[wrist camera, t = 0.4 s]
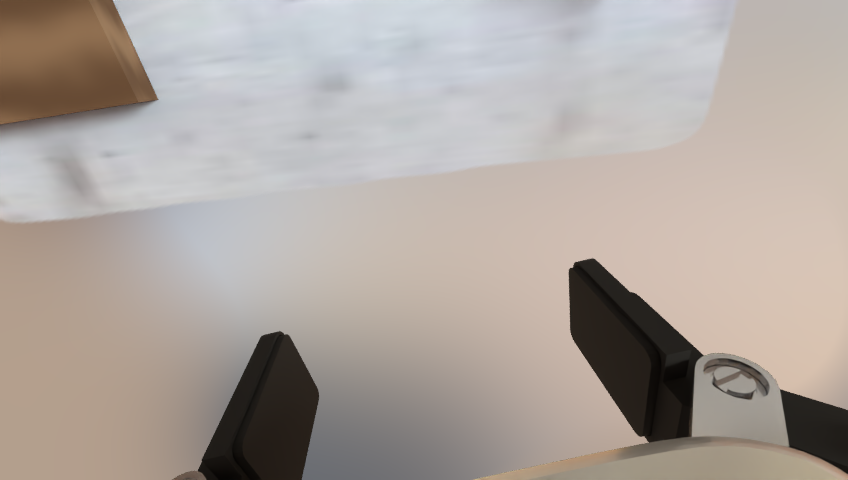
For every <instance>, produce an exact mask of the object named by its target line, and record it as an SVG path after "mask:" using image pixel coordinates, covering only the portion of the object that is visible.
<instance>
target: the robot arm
mask: <svg viewBox="0 0 848 480" xmlns="http://www.w3.org/2000/svg"><path fill="white" fill-rule="evenodd" d="M569 296H570V330H571V335H572V337H573V340H574V342H575V343H576V345H577V346H578V348H579V349H580V351H581V352H582V354H583V355H584V357H585V358H586V360H587V361H588V363H589V364H590V366H591V367H592V369H593V370H594V372H595V373H596V374H597V376H598V378H599V379H600V381H601V382H602V384H603V385H604V386H605V388H606V390H607V391H608V393H609V394H610V396H611V397H612V399H613V400H614V401H615V403H616V404H617V406H618V407H619V409H620V410H621V412H622V413H623V415H624V416H625V418H626V419H627V421H628V422H629V424H630V425H631V427H632V428H633V430H634V431H635V432H636V434H637V435H638V436H640V437H642V436H645V438H646V439H647V441H648V442H649V443H645V444H640V445H634V446H630V447H624V448H619V449H614V450H609V451H604V452H599V453H594V454H589V455H584V456H580V457H575V458H571V459H566V460H561V461H556V462H552V463H548V464H543V465H538V466H533V467H529V468H524V469H519V470H515V471H510V472H505V473H501V474H497V475H492V476H487V477H483V478H479V479H474V480H848V410H846V409H842V408H839V407H836V406H833V405H829V404H826V403H823V402H819V401H816V400H812V399H810V398H806V397H803V396H800V395H797V394H793V393H790V392H787V391H784V390H780V388H779V386H778V384H777V381H776V380H775V379H774V378H773V377H772V375H771V374H769V372H768V371H766V370H765V369H763V368H762V367H761V366H759V365H758V364H756V363H754V362H752V361H750V360H747V359H745V358H742V357H739V356H735V355H731V354H724V353H713V354H708V355H705V356H704V355H702V354H701V353H700V352H699V351H698V350H697V349H696V348H695V347H694V346H693V345H692V344H690V343H689V342H688V341H687V340H686V339H685V338H684V337H683V336H682V335H681V334H679V332H678V331H676V330H675V329H674V328H673V327H672V326H671V325H670V324H669V323H668V322H667V321H666V320H665V319H663V318H662V317H661V316H660V315H659V314H658V313H657V312H656V311H655V310H654V309H653V308H652V307H650V306H649V305H648V304H647V303H646V302H645V301H644V300H643V299H642V298H641V297H640V296H638V295H637V294H635V293H632V292H629V291H628V290H627V289H626V288H625V287H624V286H623V285H622V284H621V283H620V282H619V281H618V280H617V279H616V278H614V277H613V276H612V275H611V274H610V273H609V272H608V271H607V270H606V269H605V268H604V267H603V266H602V265H601V264H600V263H599V262H597V261H596V260H595V259H588V260H583V261H579V262H575V263H574V265H573V268H570V269H569ZM318 400H319V392H318V389H317V386H316V385H315V383H314V381H313V379H312V377H311V375H310V373H309V371H308V370H307V368H306V366H305V364H304V362H303V360H302V358H301V356H300V355H299V353H298V351H297V349H296V347H295V346H294V343H293V341H292V340H291V338H290V336H289V335H284V333H282V332H280V331H279V332H275V333H270V334H266V335H263V336H261V338H260V340H259V342H258V344H257V346H256V348H255V350H254V352H253V354H252V356H251V358H250V361H249V363H248V365H247V367H246V369H245V371H244V373H243V375H242V377H241V379H240V382H239V383H238V385H237V388H236V390H235V392H234V394H233V396H232V398H231V400H230V402H229V404H228V406H227V408H226V410H225V413H224V415H223V417H222V419H221V421H220V423H219V425H218V427H217V429H216V431H215V433H214V435H213V438H212V440H211V442H210V444H209V446H208V448H207V450H206V452H205V454H204V456H203V459H202V463H201V465H200V467H199V469H198V471H190V472H186V473H184V474H181V475H179V476H177V477H176V478H174V479H173V480H302V474H303V470H304V466H305V461H306V456H307V452H308V447H309V442H310V437H311V433H312V428H313V424H314V419H315V415H316V410H317V405H318Z"/></svg>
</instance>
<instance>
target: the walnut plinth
mask: <svg viewBox="0 0 848 480" xmlns="http://www.w3.org/2000/svg"><path fill="white" fill-rule="evenodd" d="M152 100H158V98H157V96H156V94H155V92H154V89H153V87H152V85H151V83H150V81H149V79H148V76H147V74H146V72H145V70H144V68H143V66H142V63H141V61H140V59H139V57H138V55H137V53H136V50H135V48H134V46H133V44H132V42H131V39H130V37H129V35H128V33H127V31H126V29H125V26H124V24H123V22H122V20H121V18H120V16H119V13H118V11H117V9H116V7H115V5H114V3H113V0H0V124H7V123H13V122H19V121H26V120H32V119H38V118H45V117H51V116H57V115H64V114H70V113H76V112H83V111H89V110H95V109H102V108H108V107H114V106H121V105H127V104H133V103H140V102H146V101H152Z"/></svg>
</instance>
